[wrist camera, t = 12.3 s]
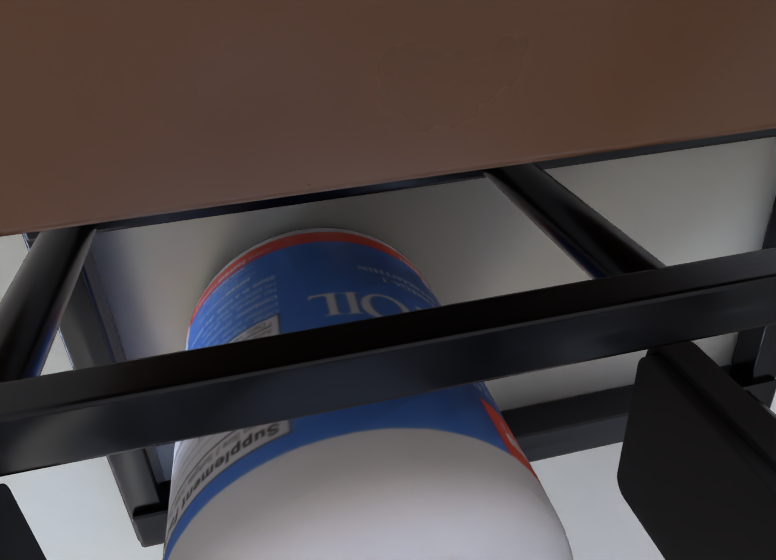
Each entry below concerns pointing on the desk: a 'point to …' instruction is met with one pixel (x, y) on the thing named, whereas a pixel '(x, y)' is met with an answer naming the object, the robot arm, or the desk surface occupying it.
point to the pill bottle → (350, 435)
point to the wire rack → (367, 342)
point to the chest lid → (349, 93)
